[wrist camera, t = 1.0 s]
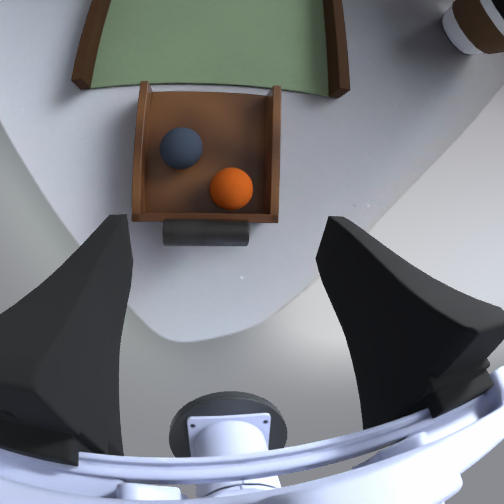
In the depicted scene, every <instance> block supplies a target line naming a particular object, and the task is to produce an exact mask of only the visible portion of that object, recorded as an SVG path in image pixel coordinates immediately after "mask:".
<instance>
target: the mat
mask: <svg viewBox="0 0 504 504" xmlns="http://www.w3.org/2000/svg"><path fill="white" fill-rule="evenodd" d="M71 81H72V82H73V83H74V84H75V85H76V86H77V87H78V88H79V89H80V90H83V89H92V88H101V87H112V86H124V85H140V82H141V81H149V83H150V84H171V83H191V84H223V85H239V86H252V87H263V88H272V87H273V85H275V86H281V90H289V91H296V92H303V93H309V94H316V95H322V96H327V97H328V96H329V97H334V98H339V97H341V96H342V95H344V94H345V93H347V92H348V91H350V79H349V65H348V52H347V41H346V32H345V23H344V14H343V7H342V0H92V3H91V6H90V9H89V12H88V15H87V18H86V21H85V25H84V28H83V32H82V35H81V39H80V43H79V47H78V51H77V55H76V59H75V64H74V68H73V73H72V78H71Z"/></svg>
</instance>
